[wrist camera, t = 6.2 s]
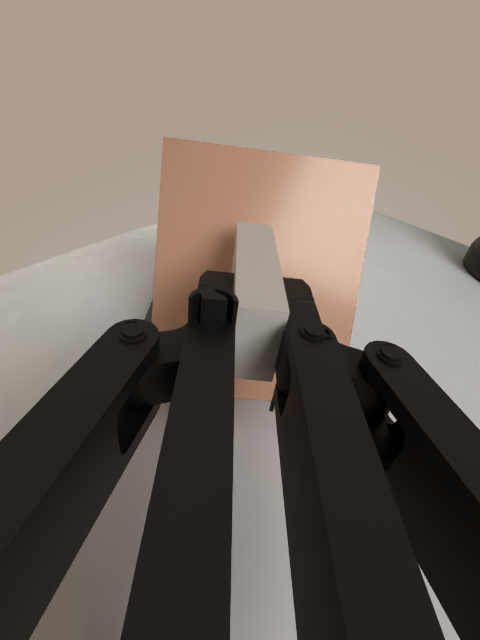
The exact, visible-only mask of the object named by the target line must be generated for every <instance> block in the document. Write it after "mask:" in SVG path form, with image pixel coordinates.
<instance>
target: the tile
mask: <svg viewBox="0 0 480 640" xmlns="http://www.w3.org/2000/svg"><path fill="white" fill-rule="evenodd" d="M379 171H380V166H379V165H372V164H364V163H356V162H349V161H341V160H334V159H326V158H319V157H311V156H304V155H296V154H289V153H281V152H273V151H266V150H258V149H250V148H243V147H236V146H228V145H220V144H213V143H205V142H198V141H190V140H183V139H175V138H168V137H163V150H162V166H161V182H160V197H159V199H160V200H159V213H158V214H159V215H158V229H157V244H156V260H155V276H154V291H153V307H152V323H153V324H154V325H155V326H156V327H157V328H158V331H159V332H161V331H169V330H174V329H177V328H180V327H182V326H184V325H185V324H187V323H188V300H189V295H190V294H191V292H192V291H194V290H196V289H197V288H198V284H199V279H200V276H201V275H202V274H203V273H204V272H206V271H207V270H210V271H219V272H229V273H231V271H232V263H233V254H234V245H235V236H236V228H237V221H240V222H249V223H258V224H266V225H272V228H273V233H274V238H275V243H276V248H277V253H278V257H279V262H280V267H281V272H282V277H286V278H295V279H303V280H304V281H305V282H306V283H307V284H308V285H309V286H310V288H311V291H312V294H313V297H314V300H315V303H316V307H317V310H318V313H319V316H320V319H321V322H322V324H324V325H326V326H327V327H329V328H330V329H331V330H332V331H333V332H334V334H335V335H336V338H337V340H338V342H339V343H341V344H343V345H346V346H349V345H350V339H351V333H352V328H353V322H354V316H355V310H356V304H357V299H358V293H359V287H360V281H361V275H362V270H363V264H364V258H365V252H366V247H367V241H368V235H369V229H370V223H371V218H372V212H373V206H374V200H375V193H376V189H377V183H378V177H379ZM275 385H276V373H274V377H273V381H272V382H268V381H256V380H244V379H235V381H234V398H242V399H253V400H265V401H272V397H273V393H274V389H275Z"/></svg>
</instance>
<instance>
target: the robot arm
mask: <svg viewBox="0 0 480 640" xmlns="http://www.w3.org/2000/svg"><path fill="white" fill-rule="evenodd" d="M463 263H464V266H465V267H466V269H467V270H468V271H469V272H470V273H471V274H472V275H474V276H475V277H476V278H478V279H479V280H480V237H479V238H477V239H476V240H475V241H474V242H473V243H472V244H471V246H470V248H469V250H468V251H467V253H466V255H465V257H464V259H463ZM274 373H276V385H275V389H274V393H273V397H272V401H271V405H270V410H269V411H273V409H274V405H275V415H276V425H277V435H278V445H279V456H280V466H281V476H282V486H283V497H284V507H285V517H286V527H287V537H288V548H289V558H290V568H291V578H292V589H293V599H294V609H295V619H296V630H297V640H445V638H444V635H443V633H442V630H441V627H440V624H439V621H438V619H437V616H436V613H435V610H434V607H433V605H432V602H431V599H430V596H429V594H428V591H427V588H426V585H425V582H424V580H423V577H422V574H421V571H420V569H419V566H420V568H421V569H422V571H423V573H424V575H425V577H426V578H427V580H428V582H429V584H430V586H431V587H432V589H433V591H434V593H435V595H436V596H437V598H438V600H439V602H440V604H441V605H442V607H443V609H444V611H445V613H446V615H447V616H448V618H449V620H450V622H451V624H452V625H453V627H454V629H455V631H456V633H457V634H458V636H459V638H460V640H480V430H479V429H478V428H477V427H476V426H475V424H474V423H473V422H472V421H471V420H470V419H469V418H468V417H467V416H466V415H465V414H464V413H463V411H462V410H461V409H460V408H459V407H458V406H457V405H456V404H455V403H454V402H453V401H452V400H451V398H450V397H449V396H448V395H447V394H446V393H445V392H444V391H443V390H442V389H441V388H440V387H439V385H438V384H437V383H436V382H435V381H434V380H433V379H432V378H431V377H430V376H429V375H428V373H427V372H426V371H425V370H424V369H423V368H422V367H421V366H420V365H419V364H418V363H417V362H416V360H415V359H414V358H413V357H412V356H411V355H410V354H409V353H408V352H406V351H405V350H404V349H403V348H401V347H399V346H397V345H395V344H392V343H389V342H385V341H373V342H369V343H368V344H367V345H366V346H365V348H364V351H362V350H359V349H355V348H352V347H349V346H346V345H343V344H341V343H339V342H338V340H337V338H336V335H335V334H334V332H333V331H332V330H331V329H330V328H329V327H327V326H326V325H324V324H322V322H321V319H320V316H319V313H318V310H317V307H316V303H315V300H314V297H313V294H312V291H311V288H310V286H309V285H308V284H307V283H306V282H305V281H304V280H303V279H295V278H286V277H282V272H281V267H280V262H279V257H278V253H277V248H276V243H275V238H274V233H273V228H272V225H266V224H258V223H249V222H240V221H237V228H236V236H235V245H234V254H233V263H232V271H231V273H229V272H219V271H210V270H207V271H206V272H204V273H203V274H202V275H201V276H200V279H199V284H198V288H197V289H196V290H194V291H192V292H191V294H190V295H189V300H188V323H187V324H185V325H184V326H182V327H180V328H177V329H174V330H169V331H161V332H159V331H158V328H157V327H156V326H155V325H154V324H153V323H151V322H148V321H146V320H140V319H130V320H124V321H121V322H118V323H116V324H114V325H113V326H112V327H110V328H109V329H108V330H107V331H106V332H105V333H104V334H103V335H102V336H101V337H100V338H99V339H98V340H97V341H96V342H95V343H94V344H93V345H92V347H91V348H90V349H89V350H88V351H87V352H86V353H85V354H84V355H83V356H82V357H81V358H80V359H79V360H78V361H77V362H76V363H75V364H74V365H73V366H72V367H71V368H70V369H69V370H68V371H67V372H66V373H65V375H64V376H63V377H62V378H61V379H60V380H59V381H58V382H57V383H56V384H55V385H54V386H53V387H52V388H51V389H50V390H49V391H48V392H47V393H46V394H45V395H44V396H43V397H42V398H41V399H40V400H39V401H38V402H37V404H36V405H35V406H34V407H33V408H32V409H31V410H30V411H29V412H28V413H27V414H26V415H25V416H24V417H23V418H22V419H21V420H20V421H19V422H18V423H17V424H16V425H15V426H14V427H13V428H12V429H11V430H10V431H9V433H8V434H7V435H6V436H5V437H4V438H3V439H2V440H1V441H0V640H29V638H30V636H31V635H32V633H33V631H34V629H35V628H36V626H37V624H38V622H39V621H40V619H41V617H42V615H43V613H44V612H45V610H46V608H47V606H48V605H49V603H50V601H51V599H52V598H53V596H54V594H55V592H56V590H57V589H58V587H59V585H60V583H61V582H62V580H63V578H64V576H65V575H66V573H67V571H68V569H69V567H70V566H71V564H72V562H73V560H74V559H75V557H76V555H77V553H78V551H79V550H80V548H81V546H82V544H83V543H84V541H85V539H86V537H87V536H88V534H89V532H90V530H91V528H92V527H93V525H94V523H95V521H96V520H97V518H98V516H99V514H100V513H101V511H102V509H103V507H104V505H105V504H106V502H107V500H108V498H109V497H110V495H111V493H112V491H113V490H114V488H115V486H116V484H117V482H118V481H119V479H120V477H121V475H122V474H123V472H124V470H125V468H126V466H127V465H128V463H129V461H130V459H131V458H132V456H133V454H134V452H135V451H136V449H137V447H138V445H139V443H140V442H141V440H142V438H143V436H144V435H145V433H146V431H147V429H148V428H149V426H150V424H151V422H152V420H153V419H154V417H155V415H156V413H157V412H158V410H159V408H160V405H161V404H162V403H167V402H171V404H170V408H169V413H168V418H167V422H166V427H165V432H164V437H163V441H162V446H161V451H160V455H159V460H158V465H157V470H156V474H155V479H154V484H153V488H152V493H151V498H150V503H149V507H148V512H147V517H146V521H145V526H144V531H143V536H142V540H141V545H140V550H139V554H138V559H137V564H136V569H135V573H134V578H133V583H132V587H131V592H130V597H129V602H128V606H127V611H126V616H125V620H124V625H123V630H122V635H121V639H120V640H230V600H231V545H232V490H233V436H234V381H235V379H244V380H256V381H268V382H272V381H273V377H274ZM390 411H391V413H392V414H393V416H394V417H395V418H396V420H397V421H396V422H393V421H392V420H391V419H390V417H389V416H388V413H389V412H390ZM417 562H418V563H417ZM418 564H419V566H418Z"/></svg>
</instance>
